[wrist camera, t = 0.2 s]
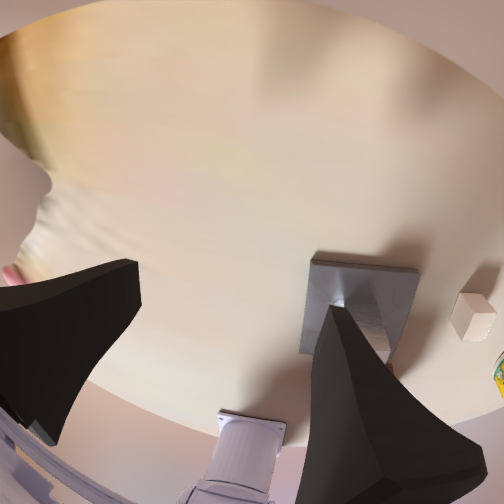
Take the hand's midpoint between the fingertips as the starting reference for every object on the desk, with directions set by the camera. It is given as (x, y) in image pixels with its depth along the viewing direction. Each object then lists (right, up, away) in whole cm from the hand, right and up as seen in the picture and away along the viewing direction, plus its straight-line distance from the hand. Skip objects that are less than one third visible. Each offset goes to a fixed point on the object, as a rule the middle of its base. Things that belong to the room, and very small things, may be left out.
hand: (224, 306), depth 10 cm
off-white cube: (+19, -3, +8) cm, 20 cm away
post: (+9, -3, +10) cm, 14 cm away
